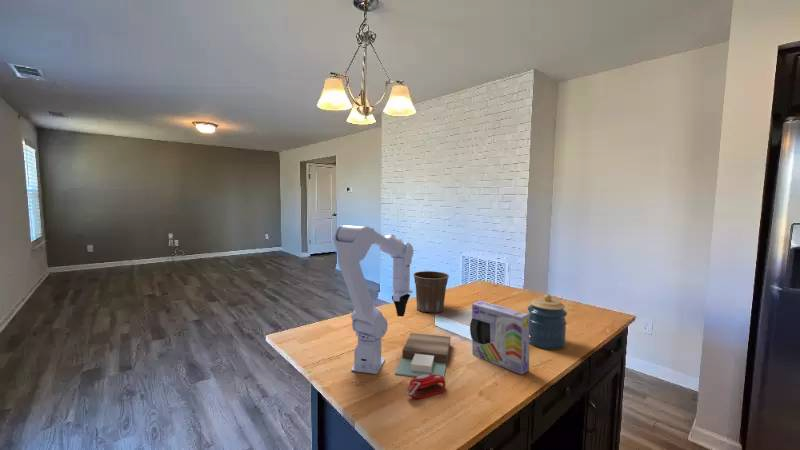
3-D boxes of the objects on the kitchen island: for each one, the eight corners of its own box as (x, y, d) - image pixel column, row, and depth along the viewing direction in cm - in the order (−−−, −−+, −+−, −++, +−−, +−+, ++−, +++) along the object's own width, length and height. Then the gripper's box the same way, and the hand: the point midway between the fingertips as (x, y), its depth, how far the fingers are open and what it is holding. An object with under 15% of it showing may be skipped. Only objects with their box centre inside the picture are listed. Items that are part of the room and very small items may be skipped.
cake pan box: (468, 353, 115) (469, 301, 114) (477, 349, 118) (479, 298, 117) (520, 377, 100) (523, 317, 99) (529, 371, 104) (532, 313, 102)
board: (446, 364, 107) (446, 354, 107) (402, 358, 110) (402, 349, 110) (450, 345, 121) (450, 336, 121) (410, 341, 124) (410, 332, 124)
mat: (443, 380, 98) (443, 379, 98) (394, 374, 101) (394, 373, 101) (446, 364, 107) (446, 363, 107) (401, 359, 110) (401, 358, 110)
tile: (430, 373, 101) (431, 366, 101) (410, 370, 102) (410, 363, 102) (434, 361, 108) (434, 355, 108) (415, 359, 109) (415, 353, 109)
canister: (554, 354, 115) (556, 302, 114) (519, 341, 125) (521, 293, 124) (572, 343, 124) (574, 295, 122) (537, 332, 134) (539, 287, 132)
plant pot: (430, 301, 171) (431, 269, 170) (455, 310, 159) (456, 275, 157) (405, 308, 161) (406, 273, 159) (430, 317, 148) (431, 280, 147)
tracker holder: (409, 374, 100) (443, 368, 98) (412, 390, 99) (446, 384, 98) (403, 386, 88) (442, 380, 87) (406, 405, 87) (446, 399, 86)
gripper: (408, 282, 111) (407, 324, 112) (416, 273, 125) (416, 310, 126) (387, 281, 112) (386, 322, 114) (397, 271, 126) (397, 308, 128)
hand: (400, 315), depth 120 cm, fingers closed
